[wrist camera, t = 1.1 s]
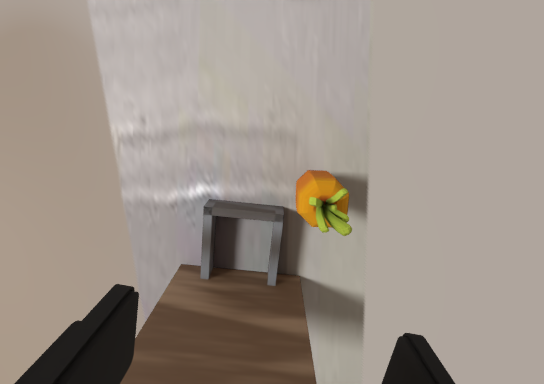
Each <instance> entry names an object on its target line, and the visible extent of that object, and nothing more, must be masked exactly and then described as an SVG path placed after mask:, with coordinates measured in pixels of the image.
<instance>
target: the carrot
mask: <svg viewBox="0 0 544 384" xmlns="http://www.w3.org/2000/svg"><path fill="white" fill-rule="evenodd" d="M348 201H349V192H348V191H347V189H345V188H344V187H343V186H342V185H341V184H340V183H339V182H338V180H337V179H336V178H335V177H334V176H332V175H331V174H330V173H329V172H327V171H314V170H308V171H307V172H306V173H305V174H304V175H302V176H301V177H300V178H299V179H298V180H297V183H296V208H297V212H298V213H299V214H300V215H301V216H302V217H303V218H304V219H305V220H306V221H307V222H308V223H309V224H310V225H311V226H312V227H319V229H320V230H321V231H322V232H328V231H329V229H328V227H332V228H334V229H335V230H336V231H337V232H339V233H340V234H342V235H343V236H346V235H349V234H350V233H351V231H352V228H351V226H350V225H348V224H347V222H348V221H349V217H348V216H347V212H348Z"/></svg>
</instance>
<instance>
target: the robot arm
mask: <svg viewBox="0 0 544 384" xmlns="http://www.w3.org/2000/svg"><path fill="white" fill-rule="evenodd" d="M138 298H139V293H138V292H134V287H131V286H126V285H120V284H116V285H115V286H114V287H113V288H112V289H111V290H110V291H109V292H108V293H107V294H106V295H105V296H104V297H103V298H102V299H101V301H100V302H99V303H98V304H97V305H96V306H95V307H94V308H93V309H92V310H91V311H90V313H89V314H88V315H87V316H86V317H85V318H84V319H83V320H82V321H75V322H74V323H72V324H71V325H70V326H69V327H68V328H67V329H66V330H65V331H64V332H63V333H62V334H61V336H60V337H59V338H58V339H57V340H56V341H55V342H54V343H53V344H52V345H51V346H50V347H49V348H48V349H47V350H46V351H45V352H44V353H43V354H42V356H41V357H39V359H38V360H37V361H36V362H35V363H34V364H33V365H32V366H31V367H30V368H29V369H28V370H27V371H26V372H25V373H24V374H23V375H22V376H21V377H20V379H18V380H17V382H16V383H15V384H120V383H121V381H122V379H123V378H124V376H125V374H126V372H127V371H128V369H129V367H130V365H131V363H132V360H133V356H134V346H135V334H136V321H137V310H138ZM382 384H455V383H454V381H453V380H452V378H451V377H450V375H449V374H448V372H447V371H446V369H445V368H444V366H443V365H442V363H441V362H440V360H439V359H438V357H437V356H436V354H435V353H434V351H433V350H432V348H431V347H430V345H429V344H428V342H427V341H426V339H425V338H424V337H423V336H421V335H416V334H410V333H405V334H404V335H403V336H400V337H399V338H398V340H397V343H396V346H395V348H394V351H393V354H392V356H391V359H390V362H389V365H388V368H387V371H386V373H385V376H384V379H383V381H382Z"/></svg>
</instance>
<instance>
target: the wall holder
mask: <svg viewBox="0 0 544 384" xmlns="http://www.w3.org/2000/svg"><path fill="white" fill-rule="evenodd" d="M216 216H223V217H233V218H243V219H253V220H263V221H273V222H274V223H273V232H272V241H271V249H270V258H269V267H268V273H266V272H255V271H245V270H235V269H224V268H214V267H213V262H214V245H215V229H216ZM283 219H284V209H283V207H280V206H271V205H261V204H251V203H241V202H231V201H222V200H212V199H209V200H208V202H207V203H206V204H205V206H204V214H203V235H202V256H201V266H194V265H183V264H181V265H180V267H179V269H178V270H177V272H176V274H175V275H174V277H173V278H172V280H171V282H170V283H169V285H168V287H167V288H166V290H165V291H164V293H163V295H162V296H161V298H160V300H159V301H158V303H157V304H156V306H155V308H154V309H153V311H152V313H151V314H150V316H149V317H148V319H147V321H146V322H145V324H144V326H143V327H142V329H141V330H140V332H139V334H138V335H137V337H136V338H135V346H134V356H133V360H132V363H131V365H130V367H129V369H128V371H127V372H126V374H125V376H124V378H123V379H122V381H121V383H120V384H316V378H315V371H314V365H313V359H312V352H311V346H310V340H309V333H308V327H307V321H306V314H305V308H304V301H303V295H302V289H301V282H300V276H296V275H286V274H277V268H278V260H279V252H280V243H281V235H282V227H283Z"/></svg>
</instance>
